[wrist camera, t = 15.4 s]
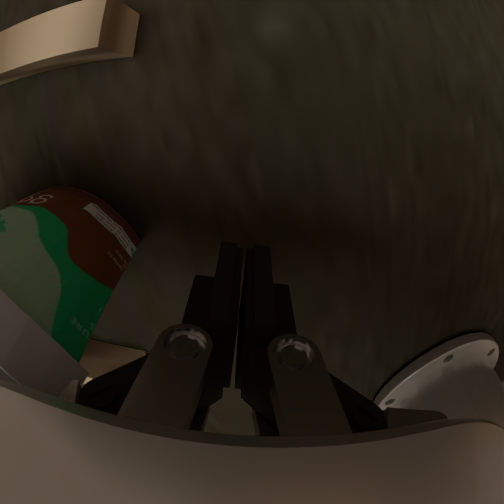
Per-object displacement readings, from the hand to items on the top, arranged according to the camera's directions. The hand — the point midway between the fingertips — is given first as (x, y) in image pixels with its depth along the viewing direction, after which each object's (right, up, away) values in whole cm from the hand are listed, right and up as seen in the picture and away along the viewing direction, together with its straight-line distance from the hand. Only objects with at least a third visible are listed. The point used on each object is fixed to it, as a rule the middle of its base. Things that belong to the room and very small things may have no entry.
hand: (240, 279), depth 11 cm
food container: (-10, +2, +2) cm, 11 cm away
